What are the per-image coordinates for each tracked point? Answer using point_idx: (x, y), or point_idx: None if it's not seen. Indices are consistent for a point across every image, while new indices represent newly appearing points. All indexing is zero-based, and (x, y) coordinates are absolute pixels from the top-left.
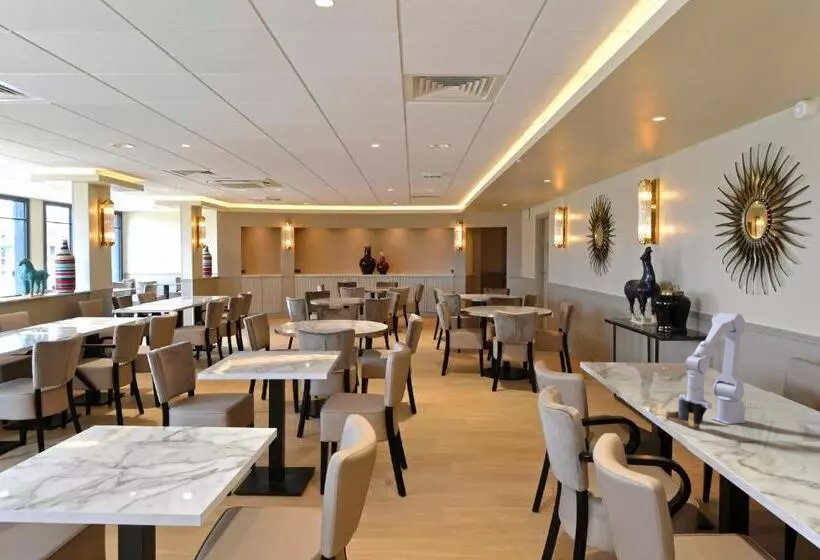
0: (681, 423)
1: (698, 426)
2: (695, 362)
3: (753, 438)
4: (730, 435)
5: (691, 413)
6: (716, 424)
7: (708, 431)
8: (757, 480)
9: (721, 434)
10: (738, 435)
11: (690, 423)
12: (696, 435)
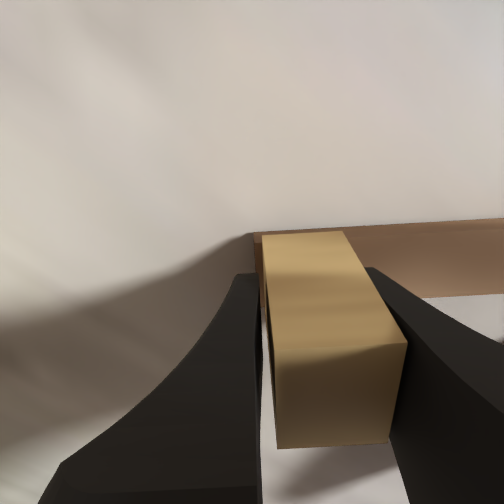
0: (458, 224)
1: (263, 299)
2: None
3: (5, 483)
4: (66, 407)
5: (335, 344)
6: (339, 470)
7: (183, 323)
8: None
9: (91, 366)
10: (70, 449)
11: (315, 247)
12: (36, 99)
